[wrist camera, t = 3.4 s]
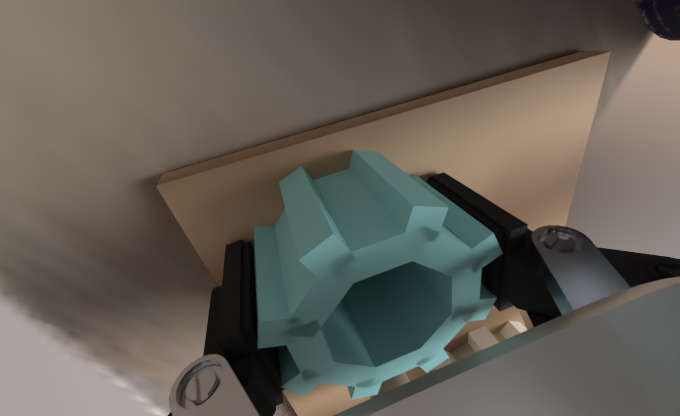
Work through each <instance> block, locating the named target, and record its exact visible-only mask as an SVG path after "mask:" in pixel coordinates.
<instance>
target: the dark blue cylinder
mask: <svg viewBox="0 0 680 416" xmlns="http://www.w3.org/2000/svg"><path fill="white" fill-rule="evenodd" d="M637 6H638V9H639V11H640V14H641V16H642V19H643V21H644V22H645V24H646V25H647V26H648V28H649V29H650V30H651V31H652V32H653V33H655V34H656V35H658V36H659V37H661V38H664V39H668V40H680V0H637Z"/></svg>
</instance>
